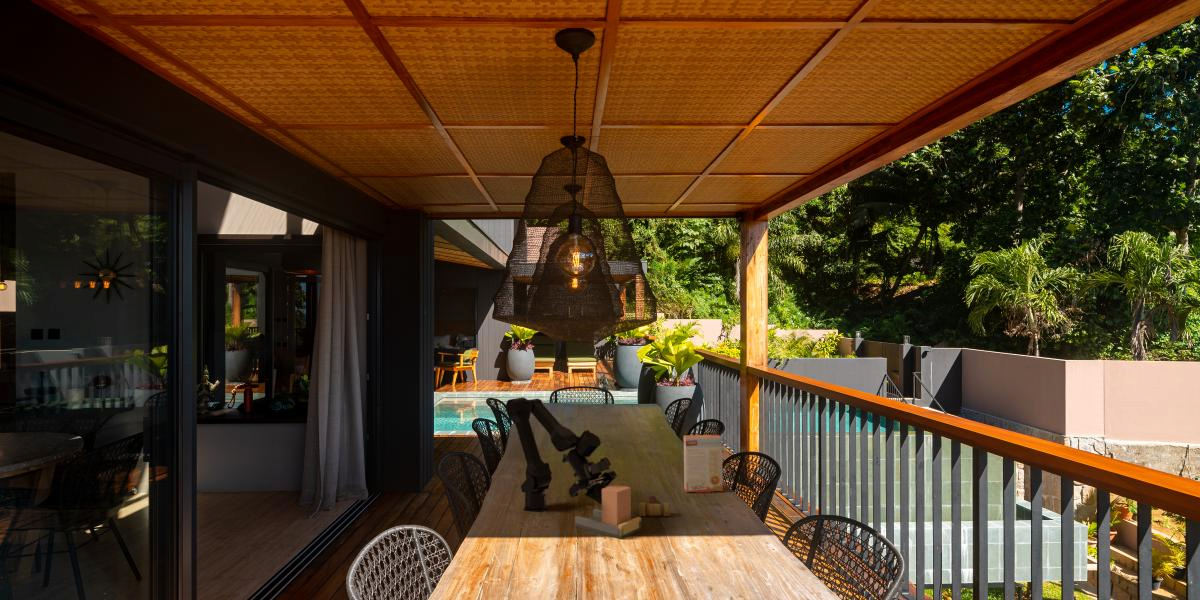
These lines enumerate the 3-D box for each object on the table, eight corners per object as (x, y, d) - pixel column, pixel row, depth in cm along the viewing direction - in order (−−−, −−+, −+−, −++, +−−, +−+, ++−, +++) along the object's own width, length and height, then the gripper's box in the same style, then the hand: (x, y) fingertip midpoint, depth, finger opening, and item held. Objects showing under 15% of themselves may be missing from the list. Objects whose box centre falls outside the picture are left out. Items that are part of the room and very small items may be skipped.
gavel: (638, 490, 236) (665, 491, 236) (638, 503, 236) (665, 503, 236) (639, 504, 215) (669, 504, 215) (639, 518, 215) (669, 518, 215)
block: (601, 527, 201) (601, 488, 202) (615, 521, 207) (615, 484, 207) (617, 531, 198) (617, 492, 198) (630, 525, 203) (630, 487, 203)
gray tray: (575, 526, 206) (575, 513, 206) (595, 518, 214) (595, 506, 214) (621, 539, 195) (621, 525, 195) (640, 530, 203) (640, 517, 203)
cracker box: (719, 488, 250) (719, 434, 250) (722, 492, 244) (722, 437, 244) (683, 488, 250) (683, 434, 250) (685, 493, 244) (685, 437, 244)
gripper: (575, 455, 201) (603, 497, 194) (612, 445, 215) (639, 484, 208) (556, 476, 206) (583, 518, 199) (594, 465, 220) (620, 504, 213)
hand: (607, 505), depth 205 cm, fingers closed
